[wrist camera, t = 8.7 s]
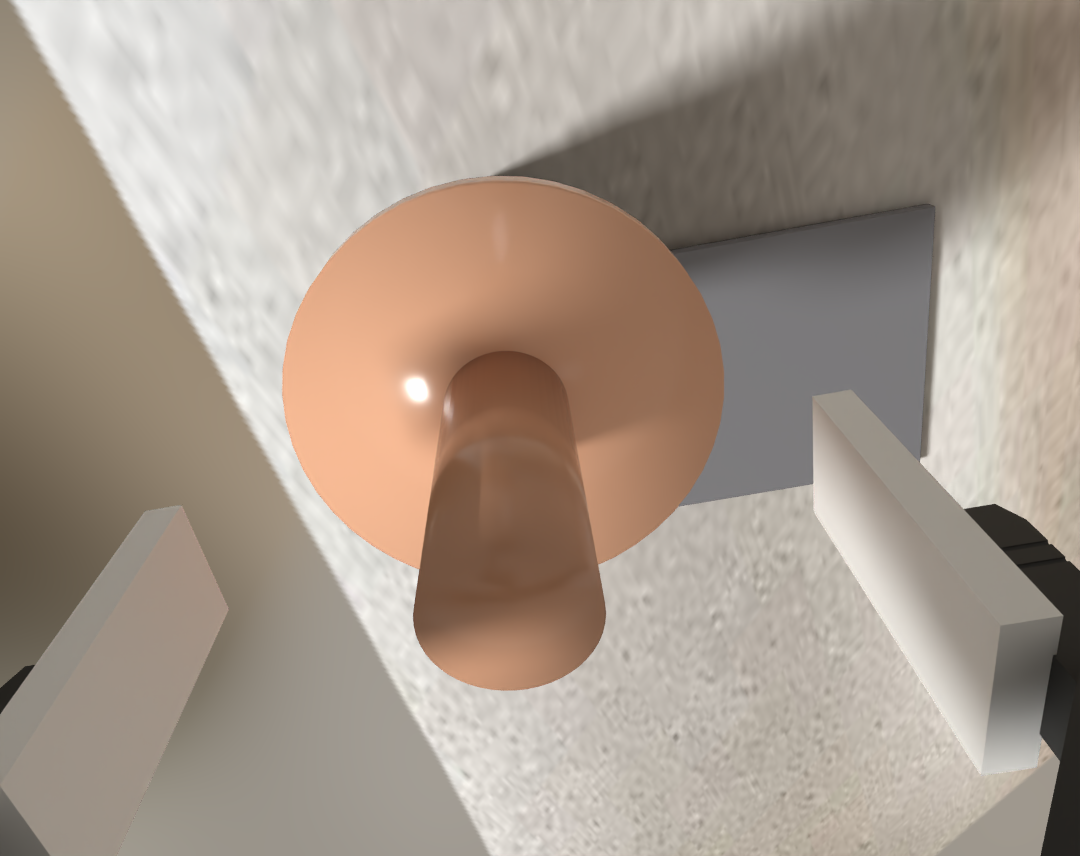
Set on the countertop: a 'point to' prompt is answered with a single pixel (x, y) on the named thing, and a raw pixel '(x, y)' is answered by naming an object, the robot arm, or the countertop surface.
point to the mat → (812, 339)
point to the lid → (504, 409)
